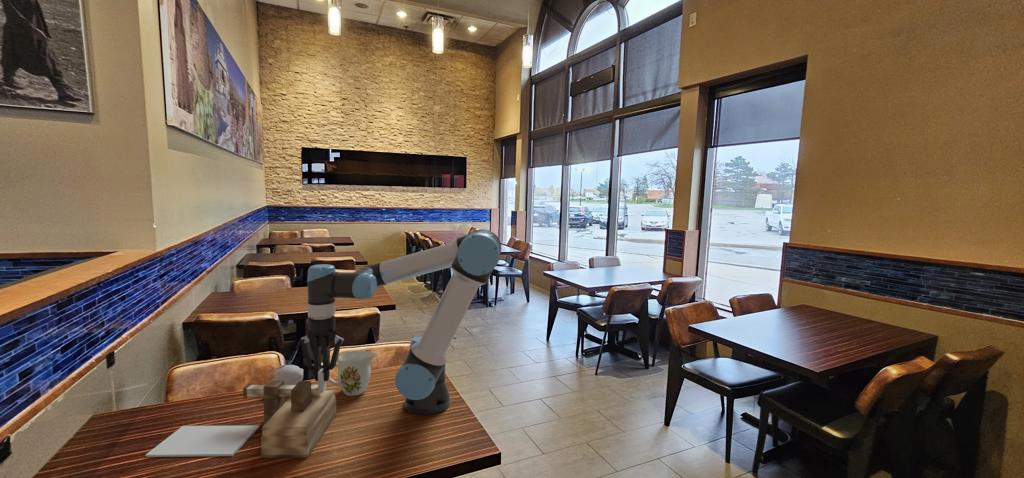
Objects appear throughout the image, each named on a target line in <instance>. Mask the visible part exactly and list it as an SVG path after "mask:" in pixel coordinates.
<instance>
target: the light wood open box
mask: <svg viewBox="0 0 1024 478" xmlns="http://www.w3.org/2000/svg"><path fill="white" fill-rule="evenodd" d="M264 385H265V386H264V387H263V391H264V397H263V400H262V402H263V426H264V425H265V424H266V422H267V421H268V420H269V419H270V418H271V417H272V416H273V415H274V414H275V413H276V412H277V411H278V410H279V409H280V408H281V407H282V406H283V404H284V403H285V402H286V397H279V392H278V388H279V387H280V386H281V385H284V380H274V379H270V380H269V381H268V382H266V384H264ZM336 416H337V397H336V396H335V398H334V400H333V401H332V402H331V404H330V405H329V406H328V408H327V409H326V411H325V412H324V413H323V415H322V416H321V418H320V419H319V420H318V422H317V423H316V424H315V426H314V427H313V429H312V430H311V431H310V433H309V434H308V435H307V436H262V435H261V437H260V452H261V453H260V454H261V459H283V458H284V459H285V458H286V459H289V458H290V459H292V458H293V459H294V458H295V459H296V458H298V459H299V458H305V459H306V458H309V457H310V455H311V454H312V452H313V450H314V449H315V448H316V447H317V444H318V443H319V441H320V440H321V439H322V437H323V436H324V434H325V433H326V431H327V430H328V428H329V427H330V425H331V424H332V422H333V421H334V419H335V417H336Z"/></svg>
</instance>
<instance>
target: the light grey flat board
mask: <svg viewBox="0 0 1024 478" xmlns="http://www.w3.org/2000/svg"><path fill="white" fill-rule="evenodd" d="M260 427H261V425H182V426H181V427H180V428H178V429H177V430H176V431H174V432H173V433H172V434H170V435H169V436H167V437H166V439H164V440H162V442H160V443H159V444H158V445H156V446H155V447H154V448H152V449H151V450H150V451H149V452H147V453H145V458H159V457H160V458H162V457H164V458H165V457H167V458H168V457H169V458H172V457H173V458H175V457H177V458H178V457H179V458H180V457H182V458H184V457H186V458H187V457H233V456H234V455H235V454H236V453H237V452H238V451H239V450H240V449H241V448H242V447H243V446H244V445H245V444H246V442H247V441H248V440H249V439H250V438H252V436H253V435H254V434H255V433H256V432H257V431H258V430H259V429H260Z"/></svg>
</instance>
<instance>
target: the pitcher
mask: <svg viewBox="0 0 1024 478" xmlns="http://www.w3.org/2000/svg"><path fill="white" fill-rule="evenodd" d="M377 356H378V353H376V352H369V351H366V350H353V351H348V352H345V353H342V354H340V355H338V362H336V366H335V367H337V381H336V380H334V379H333V378H332V377H331V376H330V375H329V379H328V381H327V382H328V383H329V384H330V385H333V386H335V387H339V388H340V389H341V391H342V392H343V394H344V395H345V396H349V397H355V396H359V395H362V394H363V393H365V391H366V389H367V387H368V386H369V382H370V380H371V374H372V373H371V365H370V363H372V360H373V358H375V357H377Z"/></svg>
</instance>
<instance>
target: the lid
mask: <svg viewBox="0 0 1024 478" xmlns="http://www.w3.org/2000/svg"><path fill="white" fill-rule="evenodd" d="M311 385H312V381H311V380H303V381H300V382H299V383H298V384H297V385H296V386H295V387H294V388H293V389H292V390H291V397H289V398H288V399H287V400H285V403H284V404H283V406H282V407H281V408H280V409H279V410H278V411H277V412H276V413H275V414H274V415H273V416H272V417H271V418H270V419H269V420H268V421H267V422H266V424H265V425H264V424H263V425H262V427H261V433H262V435H261V436H307V435H308V434H309V433H310V431H311V430H312V429H313V427H314V426H315V424H316V423H317V422H318V420H319V419H320V418H321V416H322V415H323V413H324V412H325V411H326V409H327V408H328V406H329V405H330V404H331V402H332V401H333V400H334V398H335V397H336V390H335V389H326V390H325V391H324V392H323V393H321V394H320V395H319V396H318V397H311Z"/></svg>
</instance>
